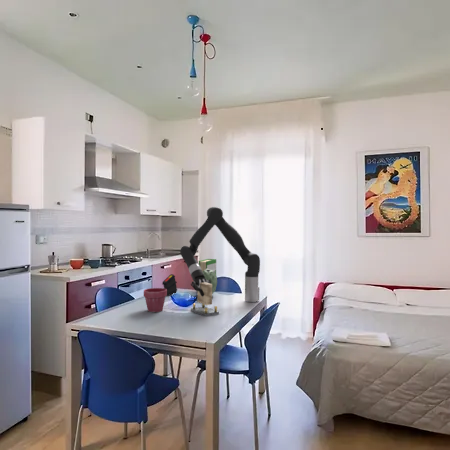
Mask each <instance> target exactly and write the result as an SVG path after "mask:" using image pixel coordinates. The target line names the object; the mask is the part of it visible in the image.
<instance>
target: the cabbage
mask: <svg viewBox="0 0 450 450" xmlns="http://www.w3.org/2000/svg"><path fill="white" fill-rule="evenodd" d="M215 273H216V274H215ZM203 274H204V277H205V279H206V280H211V284H212V295H213V294H214V293H215V292H216V289H217V285H218V276H217V271H216V272H215V271H214V270H213V271H212V270H209V269H205V270H204V271H203ZM206 283H207V282H206ZM196 293H198V291H196Z"/></svg>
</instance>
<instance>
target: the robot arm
mask: <svg viewBox="0 0 450 450" xmlns="http://www.w3.org/2000/svg"><path fill="white" fill-rule="evenodd" d="M223 213H224V212H223V210H222V209H221V208H220V207H219V206H218V207H217V206H212V207H209V208H207V211H206V217H207V218H206V220H205V221H204V223H203V224H202V225H201V226H200V227H199V228H198V229H197V230H196V231H195V232H194V234H193V235H192V236H191V238H190V239H189V241H188V242H189V246H188V245H183V246H181V247H180V251H179V253H180V256H181V257H182V259H183V261H184V263H186V264H185V265H186V266H187V268H188V272H189V274H190V276H191V278H192V281H191V283H190V286H191V287H192V288H193V290H194V291H196V292H197V291H199V292H200V295H201V296H204V292H203V290H202V288H201V284H200V283H201V282H207V283H210V284H211V280H206V279H205V277H204V274H203V272H202V269H201V267H200V266H199V261H198V259H197V258H195V255H196V253H197V251H198V249H199V247H200V245H201V243H202V242H203V240H204V239H206V236H207V235H208V234H209V232H210V231H211V230H212V228H214V227H215V226H216V228H217V229H218V230H219V231H220V233H221V234H222V236H223V237H224V238H225V240H226V241H227V243H229V245H230V246H231V247H232V248H233V249H234V250H235V252H236V253H237V254H238V255H239V257H240V258H241V260H242V262H243V263H244V264H245V266H247V270H246V271H245V273H244V302H247V303H257V302H259V301H260V286H259V273H260V269H261V268H260V267H261V258H260V256H259V255H258V254H257V253H252V252H251V251H250V250H249V249H248V248H247V246H246V245H245V242H244V240H243V237H242V236H241V234H240V233H239V232H238V230H236V228H235V227H234V226H232V225H231V224H230V223H229V222H227V220H226V219H225V218H224V217H223V216H224V215H223ZM258 300H259V301H258ZM256 301H257V302H256Z"/></svg>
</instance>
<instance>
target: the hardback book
mask: <svg viewBox="0 0 450 450" xmlns="http://www.w3.org/2000/svg"><path fill="white" fill-rule="evenodd" d="M198 264H199V266H200V267H201V269H202V272H203V271H204V270H205V269H209V270H212V271H213V270H214V271H215V272H216V273H215V274H216V275H217V258H206V259H201V260H198Z"/></svg>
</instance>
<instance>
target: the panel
mask: <svg viewBox="0 0 450 450" xmlns="http://www.w3.org/2000/svg"><path fill="white" fill-rule="evenodd" d="M200 284H201V288H202V290H203V292H204V296H201V295H200V292H199V291H198V292H197V297H196V298H197V300H196V301H197V303H200V304H201V305H202V304H205V306H208V305H209V306H210V305H213V294H212V284H210V283H206V282H201V283H200Z"/></svg>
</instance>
